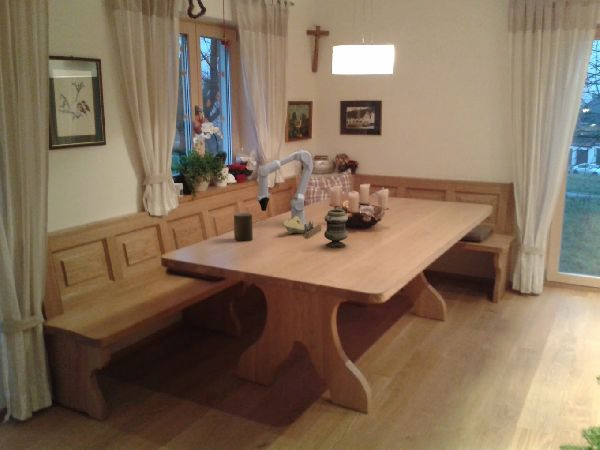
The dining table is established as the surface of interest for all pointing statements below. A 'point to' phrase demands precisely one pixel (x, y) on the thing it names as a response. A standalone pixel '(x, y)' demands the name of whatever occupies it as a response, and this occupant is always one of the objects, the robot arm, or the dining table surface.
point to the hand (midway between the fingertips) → (263, 210)
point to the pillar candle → (243, 227)
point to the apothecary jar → (336, 227)
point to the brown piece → (311, 229)
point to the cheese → (293, 225)
